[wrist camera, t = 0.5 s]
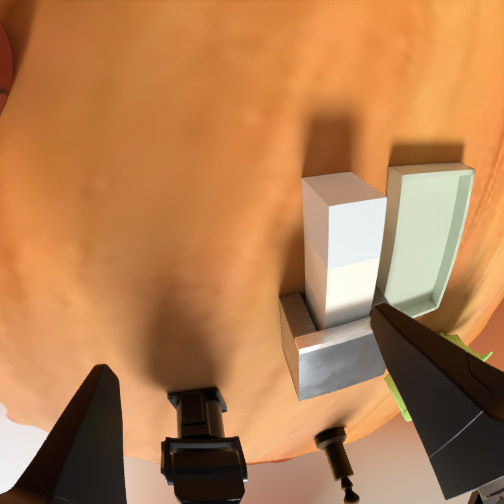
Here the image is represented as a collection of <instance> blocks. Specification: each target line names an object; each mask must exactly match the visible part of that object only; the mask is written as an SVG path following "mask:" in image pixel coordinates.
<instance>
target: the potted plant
mask: <svg viewBox="0 0 504 504" xmlns="http://www.w3.org/2000/svg"><path fill="white" fill-rule="evenodd" d="M12 75H13V56H12V50H11V46H10V43H9V40H8V37H7V34H6V31H5V29H4V27H3V26H2V24H1V23H0V115H1V113H2V111H3V109H4V106H5V104H6V101H7V98H8V95H9V92H10V87H11V83H12Z"/></svg>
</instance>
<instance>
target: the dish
mask: <svg viewBox="0 0 504 504" xmlns="http://www.w3.org/2000/svg"><path fill="white" fill-rule="evenodd" d="M474 172H475V169H473V168H471V167H469V166H467V165H465V164H463V163H461V162H453V163H433V164H417V165H404V166H392V167H388V178H387V192H386V197H387V204H386V214H385V224H384V232H383V240H382V247H381V254H380V261H379V267H378V273H377V279H376V285H377V287H378V288H379V289H380V291H381V292H382V293H383V295H384V296H385V297H386V299H387V300H388V302H389V303H390V304H391V306H393V307H395V308H398V309H399V310H400V311H401V312H403V313H405V314H406V315H408V316H410V317H411V318H416V317H418V316H421V315H423V314H426V313H428V312H431V311H433V310H436V309H438V308H439V305H440V302H441V300H442V297H443V294H444V292H445V289H446V286H447V283H448V280H449V277H450V274H451V271H452V268H453V265H454V261H455V258H456V255H457V251H458V248H459V244H460V240H461V237H462V233H463V229H464V225H465V220H466V216H467V211H468V207H469V202H470V196H471V191H472V185H473V179H474Z"/></svg>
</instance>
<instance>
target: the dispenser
mask: <svg viewBox="0 0 504 504" xmlns="http://www.w3.org/2000/svg"><path fill="white" fill-rule="evenodd" d="M382 302H386V303H388V304H390V303H389V302H388V300H387V299H386V297H385V296H384V295H383V293H382V292H381V291H380V289H379V288H378V287H377V285H375V290H374V295H373V300H372V305H371V310H370V315H369V317H367V318H364V319H361V320H358V321H354V322H351V323H347V324H344V325H340V326H337V327H333V328H329V329H326V330H322V331H318V332H317V331H316V329H315V327H314V325H313V322H312V320H311V318H310V315H309V313H308V311H307V309H306V306H305V304H304V302H303V300H302V297H301V295H300V293H299V292H296V293H292V294H287V295H283V296H279V308H280V319H281V332H282V344H283V352H284V355H285V358H286V361H287V365H288V368H289V371H290V374H291V377H292V381H293V384H294V387H295V390H296V393H297V397H298V400H299V401H302V400H305V399H309V398H313V397H316V396H320V395H323V394H327V393H330V392H333V391H337V390H340V389H343V388H346V387H349V386H352V385H355V384H358V383H361V382H364V381H367V380H370V379H372V378H375V377H378V376H380V375H383V374H384V372H385V369H386V365H385V363H384V360H383V358H382V355H381V352H380V350H379V347H378V345H377V342H376V339H375V337H374V334H373V332H372V329H371V326H370V319H371V314H372V308H373V306H374V305H375V304H379V303H382ZM390 305H391V304H390ZM396 309H398V308H396ZM398 310H399V309H398Z"/></svg>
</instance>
